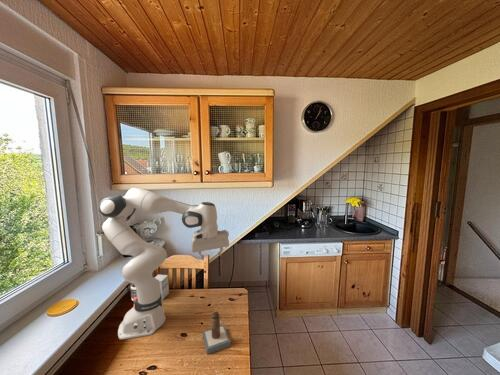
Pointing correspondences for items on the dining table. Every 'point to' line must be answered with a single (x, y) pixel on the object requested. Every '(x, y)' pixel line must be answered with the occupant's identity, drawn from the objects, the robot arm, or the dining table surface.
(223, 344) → the base
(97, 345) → the dining table surface
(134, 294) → the decorative candle
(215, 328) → the pepper mill
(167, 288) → the supplement box
